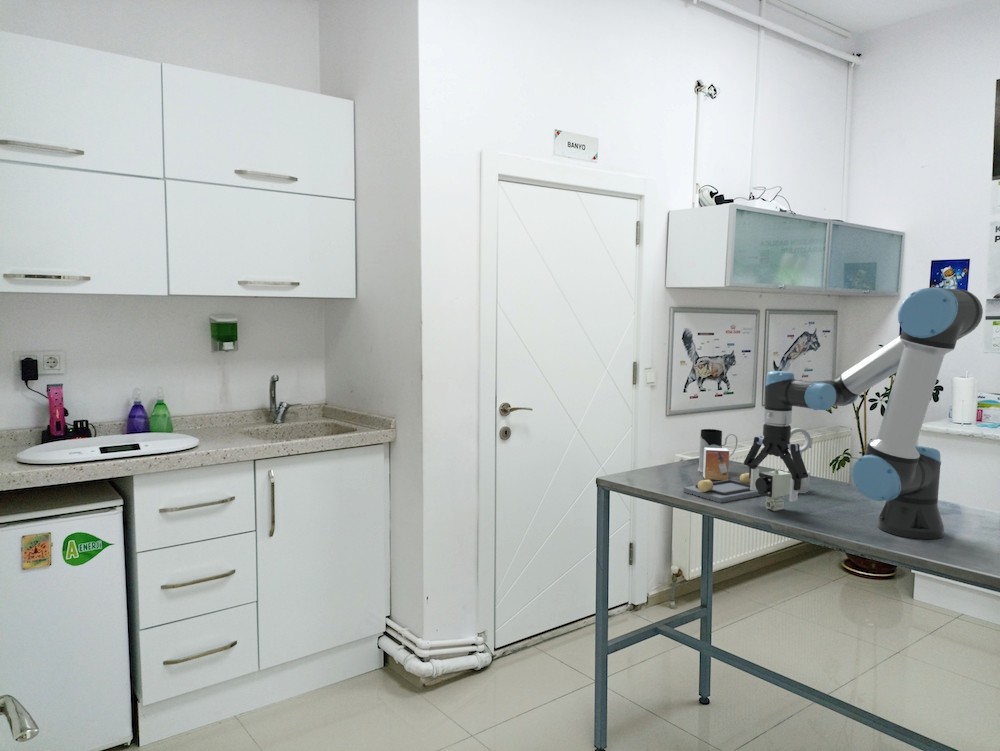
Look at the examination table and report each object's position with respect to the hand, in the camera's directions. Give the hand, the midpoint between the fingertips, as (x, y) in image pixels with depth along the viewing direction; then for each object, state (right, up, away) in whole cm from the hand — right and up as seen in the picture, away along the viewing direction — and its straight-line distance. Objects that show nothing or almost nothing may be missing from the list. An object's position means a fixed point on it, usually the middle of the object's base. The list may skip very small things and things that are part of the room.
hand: (773, 495), depth 206 cm
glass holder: (-1, 0, +51) cm, 51 cm away
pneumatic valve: (0, -4, 0) cm, 4 cm away
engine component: (+16, -3, +24) cm, 29 cm away
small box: (-5, -1, +39) cm, 39 cm away
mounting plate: (-8, -2, +19) cm, 20 cm away
